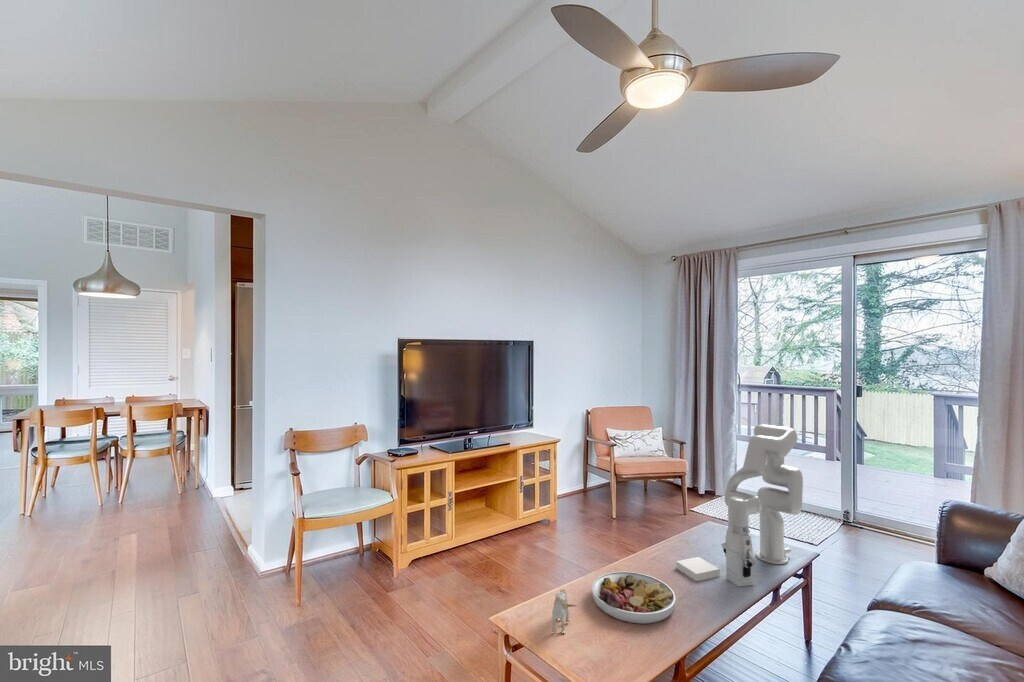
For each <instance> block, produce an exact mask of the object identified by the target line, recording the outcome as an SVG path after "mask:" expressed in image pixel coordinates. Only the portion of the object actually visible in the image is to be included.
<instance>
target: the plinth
mask: <svg viewBox="0 0 1024 682" xmlns="http://www.w3.org/2000/svg"><path fill="white" fill-rule="evenodd" d="M675 565H676V566H675V567H676V569H677V570H679V571H680V572H682V573H683V574H685V575H686V576H688V577H689V578H691V579H692V580H694V581H695V582H700V581H704V580H709V579H714V578H718V577H720V575H721V574H720V573H721V572H720V570H721V569H720V568H719V567H717V566H715V565H713V564H712V563H710V562H708V561H707V560H705V559H703V558H701V557H700V556H696V557H692V558H687V559H681V560H677V561H676V563H675Z"/></svg>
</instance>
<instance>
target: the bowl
mask: <svg viewBox="0 0 1024 682" xmlns="http://www.w3.org/2000/svg"><path fill="white" fill-rule="evenodd" d="M591 594H592V599H593V600H594V602H595V604H596V605H597V606H598V607H599V609H601V611H603V613H606V614H607V615H609V616H611V617H612V616H613V617H612V618H614V617H615V619H617V620H619V621H623V622H626V621H627V623H632V624H651V623H653V624H654V623H658V622H660V621H662V620H665V619H666V618H667V617H669V616H670V615H671V614H672V613H673V611H674V609H675V606H676V595H675V592H674V590H673V589H672V588H671V587H670V586H669V585H668V584H667V583H665V582H664V581H662V580H660V579H658V578H656V577H654V576H651V575H649V574H644V573H641V572H635V571H612V572H607V573H605V574H602V575H600V576H597V578H595V579H594V580H593V582H592V583H591Z"/></svg>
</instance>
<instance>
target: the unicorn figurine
mask: <svg viewBox="0 0 1024 682" xmlns="http://www.w3.org/2000/svg"><path fill="white" fill-rule="evenodd" d="M553 601H554V602H553V609H552V616H551V617H552V618H551V619H552V621H551V633H552V632H555V631H556V632H557V630H556V625H555V624H556V623H555V622H556V620H557V618H561V620H560V622H561V628H562V629H561V632H562V631H565V632H566V630H565V623H566V622H569V623H570V618H569V616H570V612H569V607H577V606H578V605H577V604H570V603H569V602H568V596H567V593H566V590H565V589H564V588H563V589H560V591H559V592H558V593H556V594H555V598H554V600H553ZM564 619H565V620H564ZM556 632H555V633H556Z"/></svg>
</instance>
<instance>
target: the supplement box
mask: <svg viewBox="0 0 1024 682" xmlns="http://www.w3.org/2000/svg"><path fill="white" fill-rule="evenodd" d="M748 557H749V556H748V555H747V557H746V558H748ZM749 559H750V558H749ZM725 560H726V561H725V564H726V567H725V568H726V570H725V571H726V580H728V581H729V582H731V583H732V584H733V585H735V586H737V587H749V586H753V585H754V565H753V566H752V567H751V576H750V577H744V576H743V567H745V566H744V563H743V560H742V559H741V555H740V554H738V553H736V552H734V551H732V550H730V549H728V548H726V556H725ZM750 561H751V559H750ZM746 563H748V560H746Z"/></svg>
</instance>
